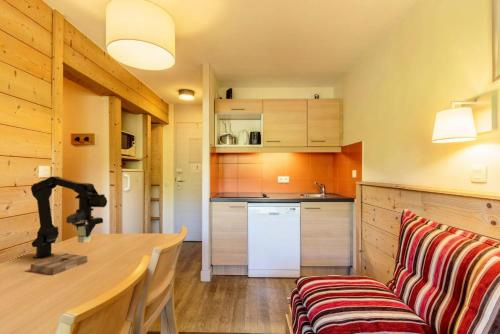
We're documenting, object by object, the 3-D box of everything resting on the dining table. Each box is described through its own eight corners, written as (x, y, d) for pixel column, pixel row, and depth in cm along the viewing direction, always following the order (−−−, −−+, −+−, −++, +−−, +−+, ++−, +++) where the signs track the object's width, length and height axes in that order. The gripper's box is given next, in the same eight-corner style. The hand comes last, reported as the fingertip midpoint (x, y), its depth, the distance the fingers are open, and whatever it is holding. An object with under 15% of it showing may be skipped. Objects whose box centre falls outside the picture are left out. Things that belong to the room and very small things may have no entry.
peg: (77, 242, 125) (78, 226, 125) (84, 240, 129) (85, 225, 129) (83, 242, 124) (84, 227, 124) (90, 240, 127) (91, 225, 128)
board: (30, 271, 108) (30, 264, 108) (66, 259, 123) (66, 253, 123) (53, 275, 104) (53, 268, 104) (87, 262, 119) (87, 256, 119)
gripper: (56, 208, 121) (55, 239, 121) (84, 209, 116) (83, 242, 116) (77, 205, 132) (76, 233, 132) (104, 207, 127) (103, 236, 127)
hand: (84, 236), depth 126 cm, fingers closed on peg, 4 cm apart
